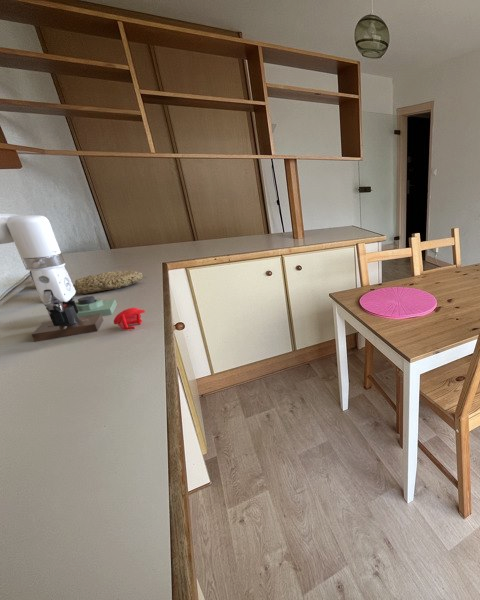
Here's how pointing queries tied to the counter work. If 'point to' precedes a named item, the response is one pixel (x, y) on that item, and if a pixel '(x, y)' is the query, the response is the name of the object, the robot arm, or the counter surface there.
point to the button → (86, 300)
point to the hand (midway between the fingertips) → (67, 319)
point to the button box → (96, 308)
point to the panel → (68, 328)
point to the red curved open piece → (128, 318)
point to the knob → (70, 314)
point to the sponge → (106, 281)
